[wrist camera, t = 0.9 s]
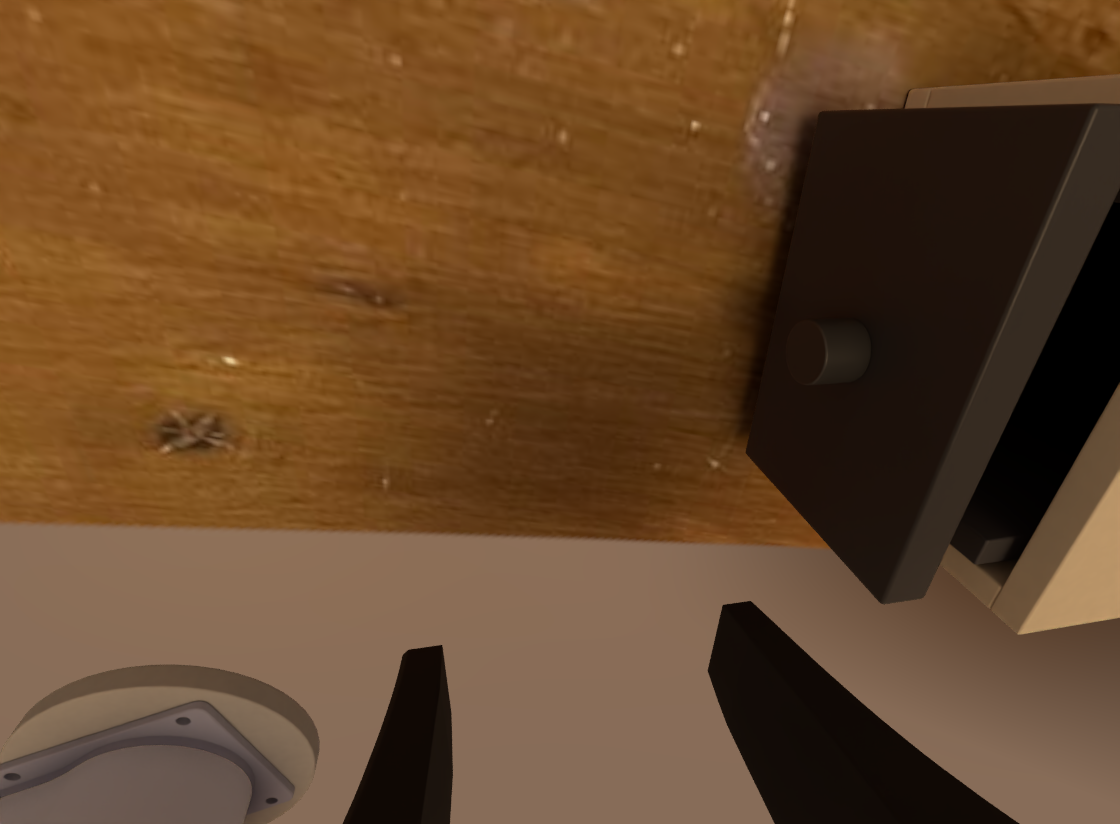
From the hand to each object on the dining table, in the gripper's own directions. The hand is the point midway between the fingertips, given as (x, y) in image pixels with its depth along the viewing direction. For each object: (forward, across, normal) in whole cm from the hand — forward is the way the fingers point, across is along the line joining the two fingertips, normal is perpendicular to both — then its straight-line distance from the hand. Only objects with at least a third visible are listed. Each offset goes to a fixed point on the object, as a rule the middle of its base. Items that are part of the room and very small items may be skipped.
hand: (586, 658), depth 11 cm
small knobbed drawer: (+7, -16, -4) cm, 18 cm away
